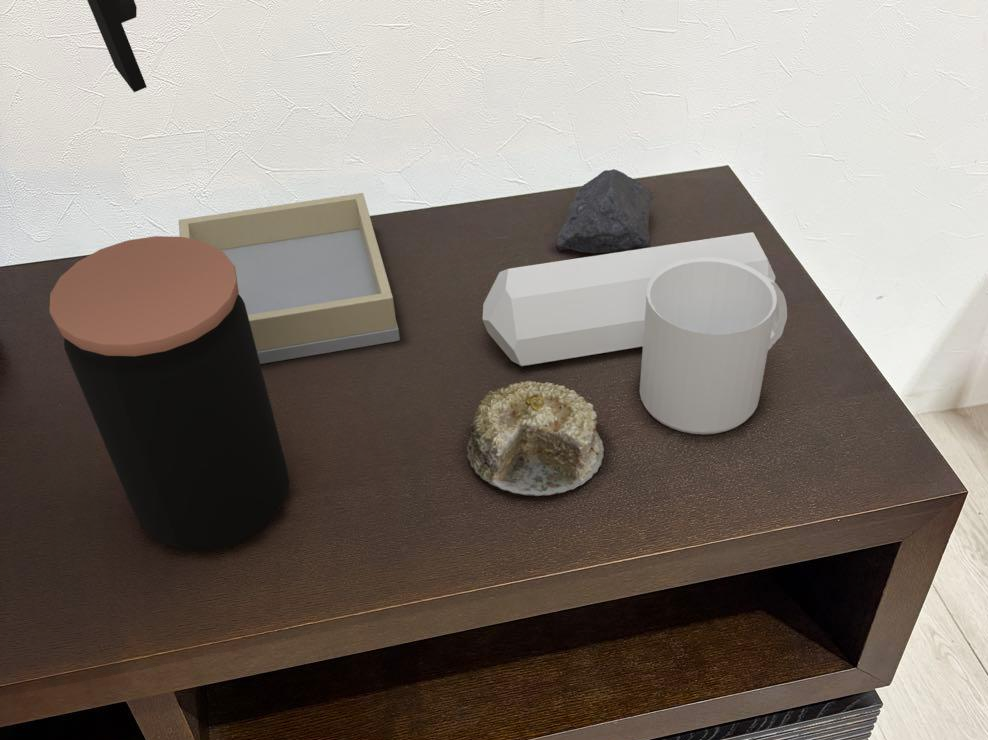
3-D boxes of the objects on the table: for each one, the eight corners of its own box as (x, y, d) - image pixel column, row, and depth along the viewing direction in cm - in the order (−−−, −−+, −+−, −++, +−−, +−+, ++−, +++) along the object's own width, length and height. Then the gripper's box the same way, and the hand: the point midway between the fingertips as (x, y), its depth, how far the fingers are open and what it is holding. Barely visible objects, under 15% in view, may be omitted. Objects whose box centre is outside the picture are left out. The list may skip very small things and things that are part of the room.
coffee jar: (313, 459, 79) (264, 244, 66) (259, 570, 73) (191, 355, 59) (176, 440, 81) (101, 226, 68) (110, 546, 74) (11, 332, 61)
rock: (575, 282, 95) (680, 241, 96) (566, 227, 91) (675, 185, 92) (537, 228, 101) (636, 191, 102) (526, 174, 97) (630, 136, 98)
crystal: (496, 352, 81) (800, 303, 85) (477, 263, 82) (777, 219, 86) (490, 387, 88) (770, 340, 92) (472, 305, 90) (749, 262, 93)
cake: (455, 425, 83) (450, 365, 79) (583, 404, 84) (584, 345, 80) (481, 510, 76) (477, 449, 72) (621, 486, 77) (623, 425, 73)
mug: (672, 450, 80) (683, 348, 73) (619, 375, 85) (625, 274, 78) (814, 406, 83) (838, 305, 76) (754, 337, 88) (771, 237, 81)
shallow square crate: (198, 374, 86) (185, 331, 83) (189, 261, 96) (177, 219, 93) (400, 340, 89) (394, 297, 85) (370, 233, 99) (364, 191, 96)
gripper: (-617, -216, 35) (-207, 267, 53) (107, -420, 42) (253, 72, 60) (-634, -298, 39) (-243, 182, 57) (38, -476, 45) (197, 6, 63)
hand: (12, 126), depth 58 cm, fingers open, 13 cm apart
